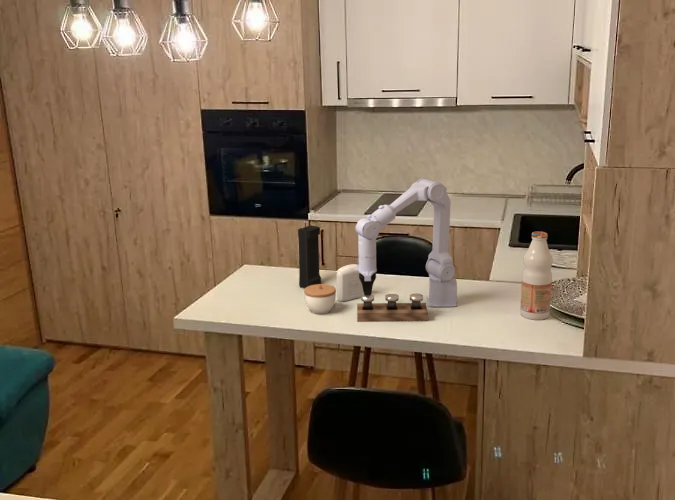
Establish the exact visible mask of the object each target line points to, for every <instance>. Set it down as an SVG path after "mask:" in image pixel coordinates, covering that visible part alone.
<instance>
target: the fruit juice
mask: <svg viewBox="0 0 675 500" xmlns="http://www.w3.org/2000/svg"><path fill="white" fill-rule="evenodd" d="M548 237H549V236H548V233H547V232H545V231H533V232H532V233H531V239H532V240H531V242H530V245H529V246H528V249H527V251H526V252H525V254H524V256H523V265H524V269H523V271H522V275H521V289H520V290H521V291H520V309H519V312H520V315H521V316H522V317H523V318H524V319H525V318H526V319H528V320H534V321H541V320H546V319H548V318H549V317H550V313H551V299H552V283H553V273H552V266H553V261H554V259H553V255H552V254H551V252H550V249H549V246H548V241H547V240H548Z"/></svg>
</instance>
